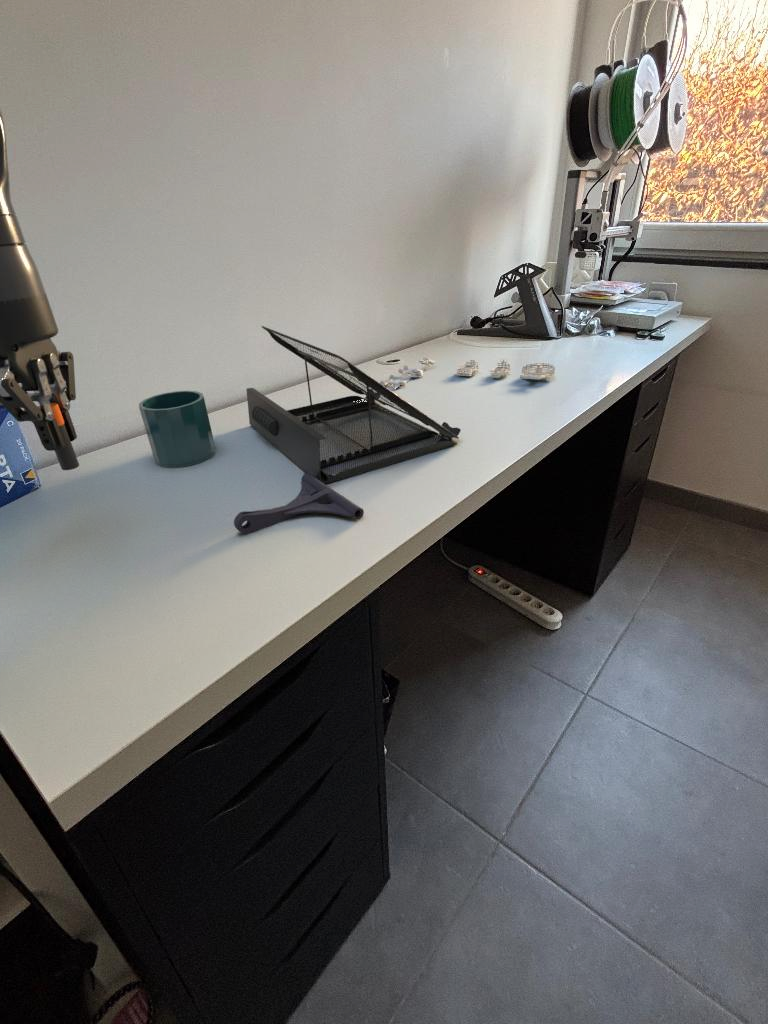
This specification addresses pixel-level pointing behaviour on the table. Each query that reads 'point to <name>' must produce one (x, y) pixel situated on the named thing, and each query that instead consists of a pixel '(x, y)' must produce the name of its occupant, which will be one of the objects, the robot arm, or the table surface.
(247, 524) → the bracket
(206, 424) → the pen pot
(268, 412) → the laptop stand
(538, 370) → the drone parts
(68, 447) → the marker
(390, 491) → the table surface
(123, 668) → the table surface
